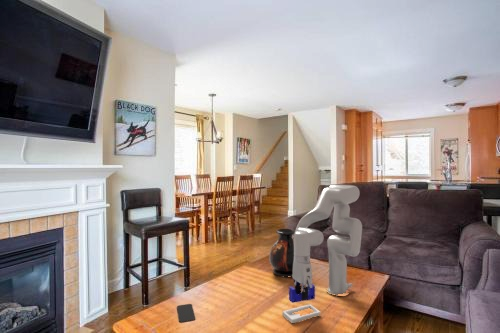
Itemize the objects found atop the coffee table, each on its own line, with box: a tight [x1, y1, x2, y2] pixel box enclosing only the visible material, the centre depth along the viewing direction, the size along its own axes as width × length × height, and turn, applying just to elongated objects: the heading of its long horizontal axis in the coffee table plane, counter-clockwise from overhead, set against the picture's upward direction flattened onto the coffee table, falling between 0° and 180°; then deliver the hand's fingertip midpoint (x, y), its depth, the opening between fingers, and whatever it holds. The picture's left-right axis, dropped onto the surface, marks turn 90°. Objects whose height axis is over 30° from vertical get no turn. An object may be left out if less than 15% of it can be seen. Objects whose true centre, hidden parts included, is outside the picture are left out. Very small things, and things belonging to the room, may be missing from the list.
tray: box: [281, 303, 322, 324], centre depth 131 cm, size 16×8×2 cm, turn 115°
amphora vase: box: [268, 228, 295, 278], centre depth 183 cm, size 22×22×28 cm
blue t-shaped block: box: [288, 283, 316, 304], centre depth 131 cm, size 12×4×6 cm, turn 110°
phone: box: [176, 303, 196, 324], centre depth 133 cm, size 7×1×15 cm
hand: (301, 296), depth 131 cm, fingers closed on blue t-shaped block, 4 cm apart
